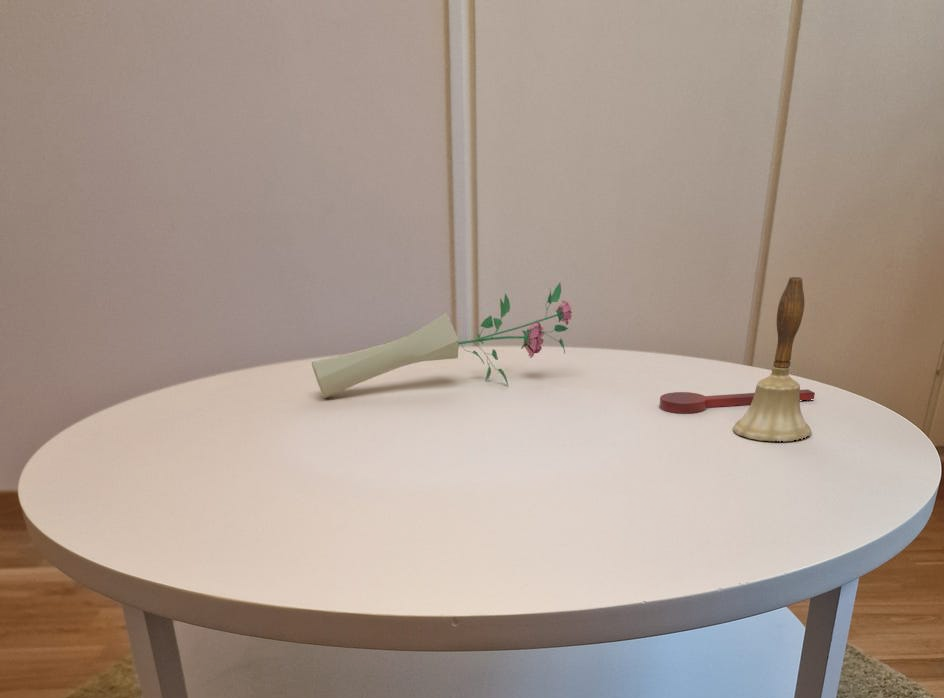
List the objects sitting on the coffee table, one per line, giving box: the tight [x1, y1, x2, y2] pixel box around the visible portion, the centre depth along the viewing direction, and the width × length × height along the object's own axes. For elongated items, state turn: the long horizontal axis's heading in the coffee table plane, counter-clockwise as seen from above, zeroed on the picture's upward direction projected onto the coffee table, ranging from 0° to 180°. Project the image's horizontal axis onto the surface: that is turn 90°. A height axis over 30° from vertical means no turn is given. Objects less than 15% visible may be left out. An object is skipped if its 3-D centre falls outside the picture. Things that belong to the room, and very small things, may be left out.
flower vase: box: [311, 282, 573, 399], centre depth 119 cm, size 12×12×35 cm
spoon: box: [659, 389, 816, 414], centre depth 108 cm, size 19×6×1 cm, turn 98°
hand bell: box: [732, 276, 812, 443], centre depth 94 cm, size 8×8×16 cm
